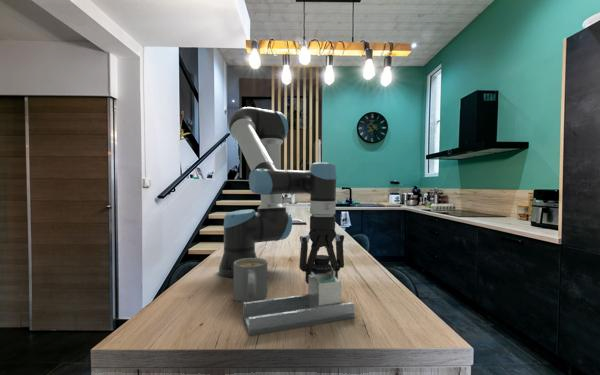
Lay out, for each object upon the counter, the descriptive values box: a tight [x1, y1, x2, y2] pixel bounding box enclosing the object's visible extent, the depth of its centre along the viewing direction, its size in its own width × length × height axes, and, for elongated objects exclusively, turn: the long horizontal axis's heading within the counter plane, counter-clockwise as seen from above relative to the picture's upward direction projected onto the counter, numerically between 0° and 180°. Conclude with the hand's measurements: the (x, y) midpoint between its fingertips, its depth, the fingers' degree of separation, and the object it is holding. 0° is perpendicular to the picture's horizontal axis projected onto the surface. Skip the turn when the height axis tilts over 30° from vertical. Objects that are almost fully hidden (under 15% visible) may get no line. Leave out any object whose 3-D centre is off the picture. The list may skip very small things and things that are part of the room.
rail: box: [242, 273, 355, 337], centre depth 71 cm, size 10×26×10 cm, turn 109°
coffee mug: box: [233, 257, 268, 303], centre depth 83 cm, size 13×10×10 cm
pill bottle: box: [312, 254, 332, 275], centre depth 84 cm, size 6×6×11 cm
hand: (321, 292), depth 84 cm, fingers closed on pill bottle, 6 cm apart
